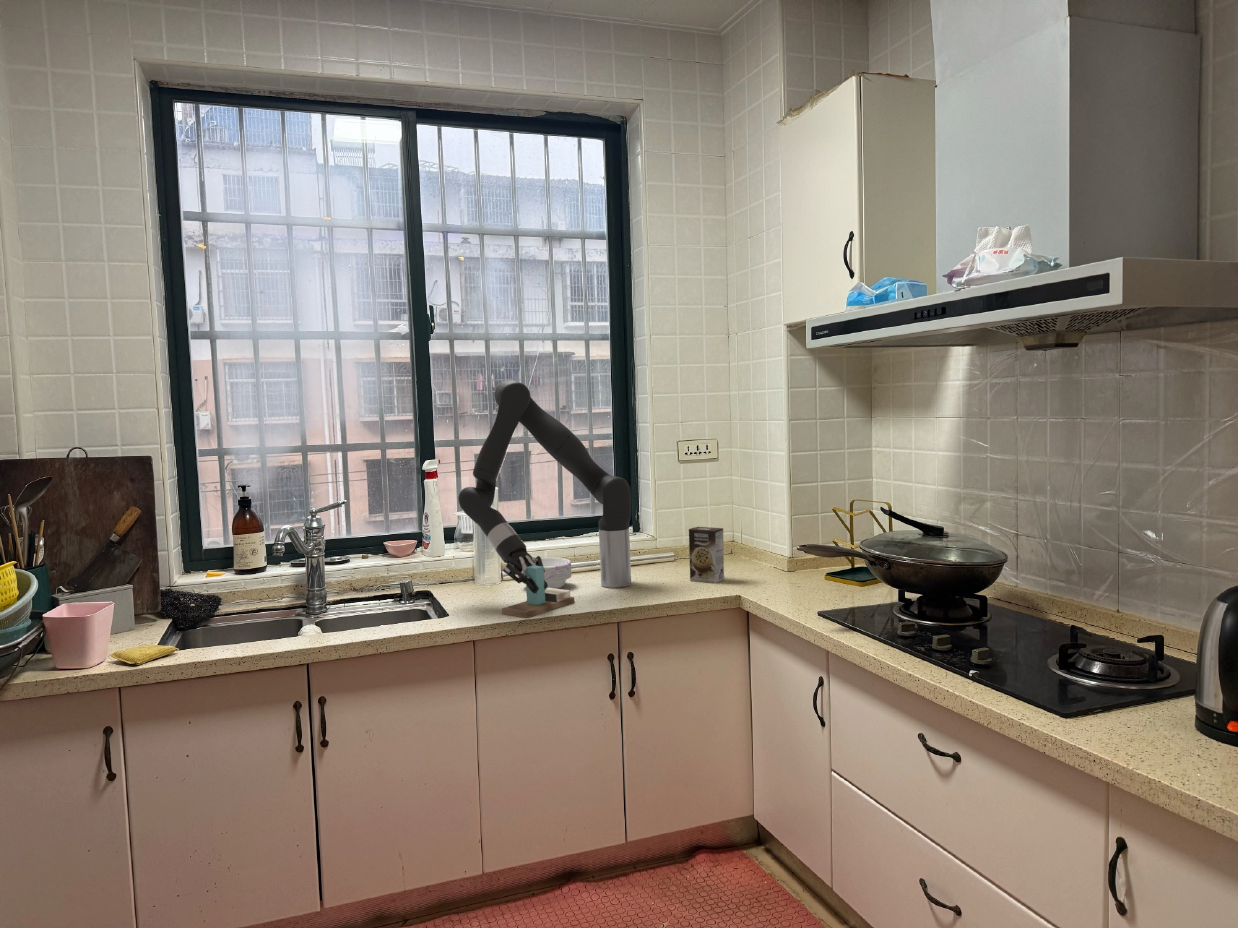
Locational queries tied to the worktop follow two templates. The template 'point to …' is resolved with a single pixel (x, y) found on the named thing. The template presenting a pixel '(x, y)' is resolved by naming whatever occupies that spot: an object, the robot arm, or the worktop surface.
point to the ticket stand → (552, 601)
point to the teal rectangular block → (538, 578)
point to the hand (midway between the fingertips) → (541, 589)
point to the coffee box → (706, 554)
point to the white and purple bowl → (556, 571)
